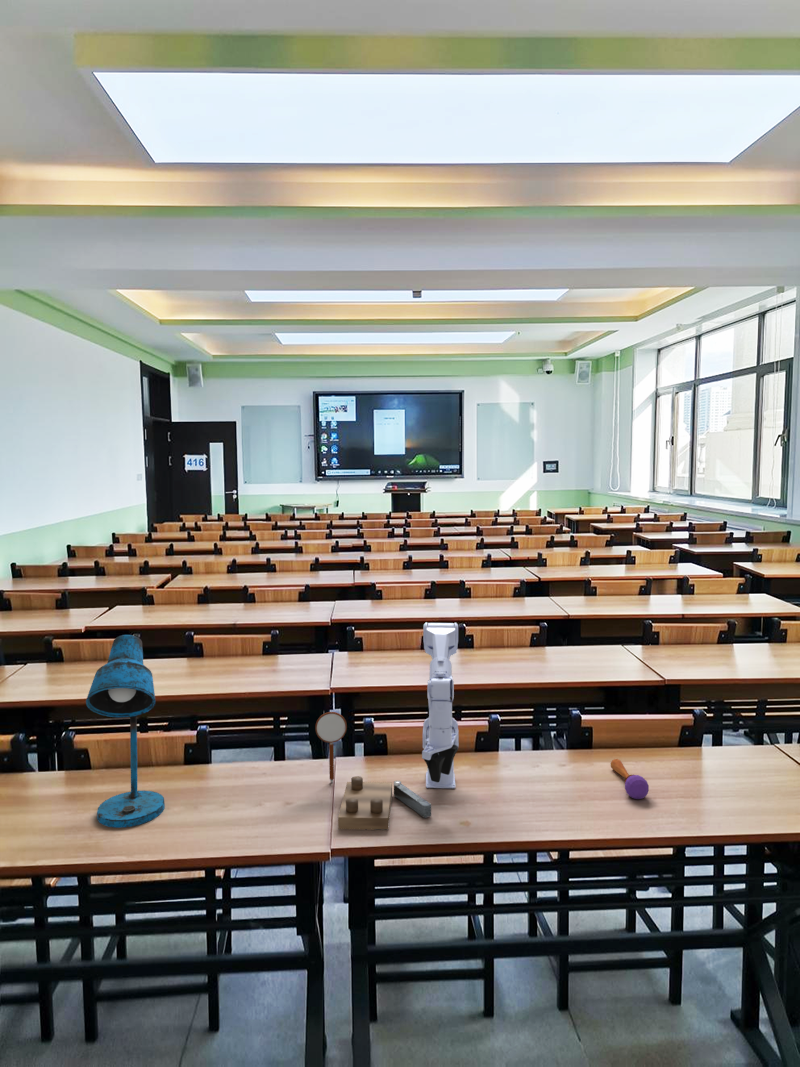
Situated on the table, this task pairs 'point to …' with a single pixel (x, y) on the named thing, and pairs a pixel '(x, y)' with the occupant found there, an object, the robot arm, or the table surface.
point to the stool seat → (365, 805)
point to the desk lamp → (130, 694)
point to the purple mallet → (631, 781)
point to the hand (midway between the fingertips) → (440, 777)
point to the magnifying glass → (331, 733)
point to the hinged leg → (412, 799)
